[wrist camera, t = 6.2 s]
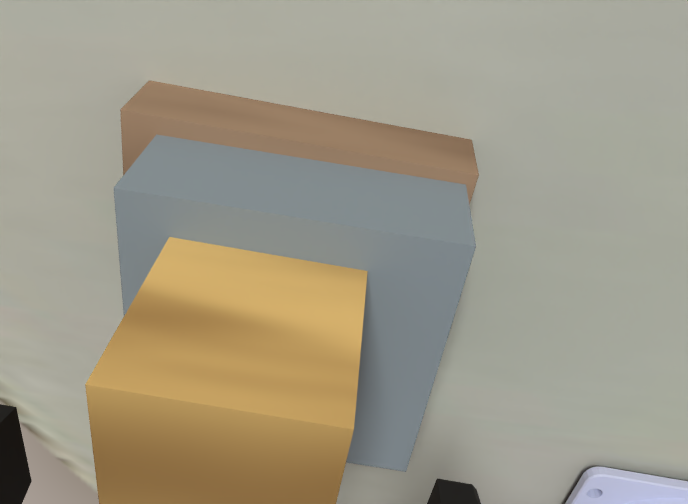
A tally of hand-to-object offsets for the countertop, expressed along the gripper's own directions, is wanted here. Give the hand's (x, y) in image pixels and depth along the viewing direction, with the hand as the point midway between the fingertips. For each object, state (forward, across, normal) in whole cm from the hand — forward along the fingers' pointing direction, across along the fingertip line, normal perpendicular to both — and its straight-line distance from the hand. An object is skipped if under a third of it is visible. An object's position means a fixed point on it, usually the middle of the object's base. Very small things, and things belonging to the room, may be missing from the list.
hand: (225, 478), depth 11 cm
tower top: (+6, 0, 0) cm, 6 cm away
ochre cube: (+4, 0, 0) cm, 4 cm away
